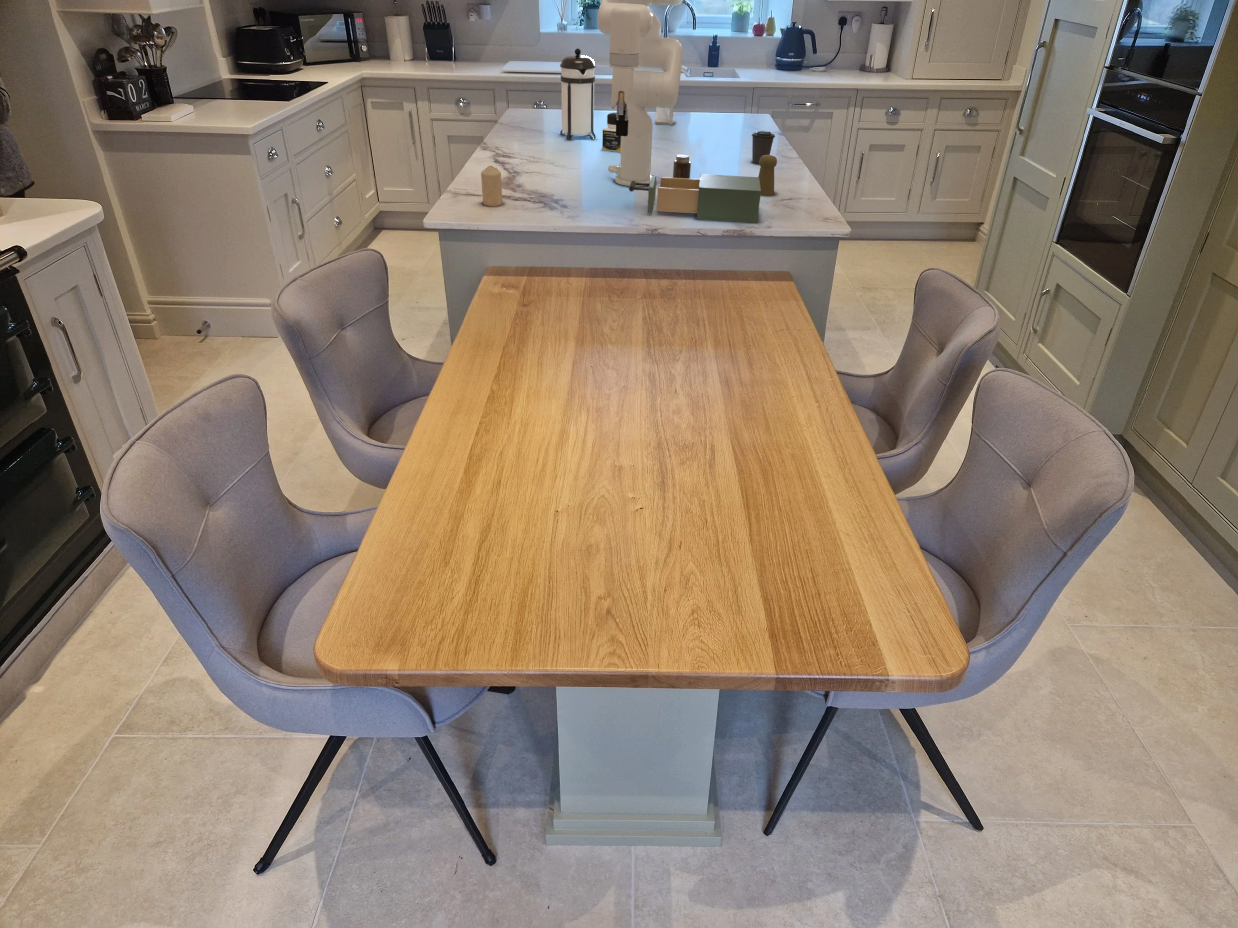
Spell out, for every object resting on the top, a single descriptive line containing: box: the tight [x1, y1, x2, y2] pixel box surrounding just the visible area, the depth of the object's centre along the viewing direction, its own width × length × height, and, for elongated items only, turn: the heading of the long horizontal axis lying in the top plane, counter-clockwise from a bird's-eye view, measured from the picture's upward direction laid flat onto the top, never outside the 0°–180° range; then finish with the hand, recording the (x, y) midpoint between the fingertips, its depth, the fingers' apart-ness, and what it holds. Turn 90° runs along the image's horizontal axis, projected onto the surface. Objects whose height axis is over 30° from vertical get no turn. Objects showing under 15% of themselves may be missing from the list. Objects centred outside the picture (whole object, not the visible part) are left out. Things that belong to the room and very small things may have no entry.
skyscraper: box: [655, 106, 675, 126], centre depth 326 cm, size 8×8×28 cm
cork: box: [757, 154, 778, 197], centre depth 244 cm, size 6×6×11 cm
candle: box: [480, 165, 503, 207], centre depth 227 cm, size 6×6×10 cm
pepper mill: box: [672, 154, 692, 179], centre depth 237 cm, size 5×5×12 cm
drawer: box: [628, 174, 700, 214], centre depth 227 cm, size 21×13×7 cm, turn 84°
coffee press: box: [559, 48, 597, 141], centre depth 299 cm, size 17×16×30 cm
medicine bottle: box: [601, 112, 621, 153], centre depth 287 cm, size 7×7×12 cm
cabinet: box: [696, 173, 762, 224], centre depth 226 cm, size 17×15×9 cm
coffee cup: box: [751, 130, 776, 166], centre depth 277 cm, size 8×8×10 cm
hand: (621, 135), depth 220 cm, fingers closed
